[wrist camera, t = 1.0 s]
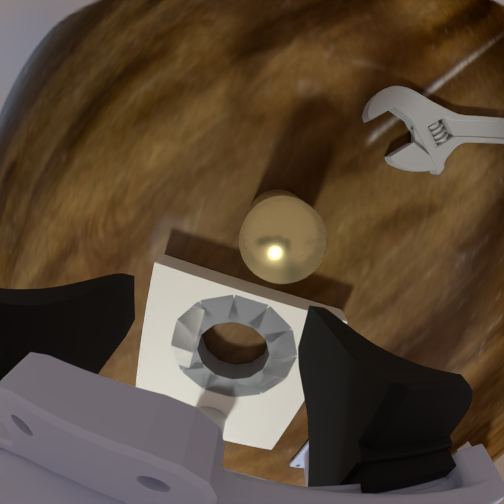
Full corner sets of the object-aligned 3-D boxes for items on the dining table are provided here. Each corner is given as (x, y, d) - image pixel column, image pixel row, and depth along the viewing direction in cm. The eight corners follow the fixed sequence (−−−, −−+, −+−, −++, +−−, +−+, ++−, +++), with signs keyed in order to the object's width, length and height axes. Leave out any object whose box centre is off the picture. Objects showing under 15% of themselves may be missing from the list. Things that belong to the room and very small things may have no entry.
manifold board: (341, 309, 21) (359, 344, 16) (271, 435, 26) (271, 472, 21) (164, 254, 21) (137, 277, 16) (140, 397, 25) (123, 431, 20)
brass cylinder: (314, 200, 19) (339, 214, 13) (295, 253, 20) (308, 294, 14) (258, 181, 19) (254, 185, 12) (240, 236, 20) (228, 268, 13)
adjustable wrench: (544, 125, 16) (554, 124, 14) (549, 181, 17) (559, 182, 16) (358, 89, 17) (366, 82, 16) (369, 174, 19) (378, 175, 17)
